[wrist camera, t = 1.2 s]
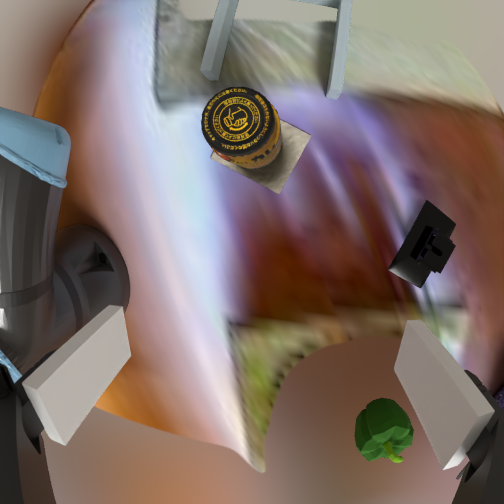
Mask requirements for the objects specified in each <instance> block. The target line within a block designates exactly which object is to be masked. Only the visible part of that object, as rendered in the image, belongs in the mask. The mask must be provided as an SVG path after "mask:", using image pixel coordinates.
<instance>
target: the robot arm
mask: <svg viewBox="0 0 504 504" xmlns="http://www.w3.org/2000/svg"><path fill="white" fill-rule="evenodd" d="M70 150H71V140H70V136H69V134H68V132H67V131H66V130H65V129H64V128H63V127H61V126H59V125H57V124H54V123H51V122H48V121H45V120H42V119H39V118H36V117H32V116H29V115H26V114H22V113H19V112H16V111H12V110H9V109H5V108H2V107H0V504H56V501H55V498H54V494H53V489H52V485H51V481H50V476H49V471H48V466H47V461H46V455H45V448H44V442H43V438H42V436H41V434H40V433H41V432H42V431H43V429H45V430H46V432H47V434H48V436H49V437H50V439H52V440H54V441H56V442H58V443H60V444H63V445H66V444H67V443H68V441H69V440H70V438H71V437H72V435H73V434H74V433H75V431H76V430H77V428H78V427H79V425H80V424H81V423H82V421H83V420H84V419H85V417H86V416H87V414H88V413H89V411H90V410H91V409H92V407H93V406H94V405H95V403H96V402H97V401H98V399H99V398H100V397H101V395H102V394H103V392H104V391H105V390H106V388H107V387H108V386H109V384H110V383H111V382H112V380H113V379H114V378H115V376H116V375H117V374H118V372H119V371H120V369H121V368H122V367H123V365H124V364H125V363H126V362H127V360H128V359H129V358H130V356H131V352H130V347H129V341H128V336H127V330H126V324H125V318H124V313H125V311H126V309H127V306H128V303H129V298H130V282H129V276H128V272H127V268H126V265H125V263H124V261H123V258H122V256H121V254H120V253H119V251H118V249H117V248H116V247H115V245H114V244H113V243H112V241H111V240H110V239H109V238H108V237H107V236H106V235H104V234H103V233H102V232H100V231H99V230H97V229H95V228H93V227H91V226H88V225H81V224H78V225H72V226H69V227H65V228H62V229H60V230H58V231H57V227H58V219H59V212H60V206H61V200H62V194H63V189H64V188H65V187H66V185H67V181H66V173H67V166H68V161H69V155H70ZM394 371H395V373H396V375H397V376H398V379H399V381H400V382H401V384H402V386H403V388H404V390H405V392H406V394H407V396H408V398H409V400H410V402H411V404H412V406H413V408H414V410H415V412H416V414H417V416H418V418H419V420H420V422H421V424H422V426H423V428H424V431H425V433H426V435H427V437H428V439H429V441H430V443H431V446H432V448H433V450H434V452H435V455H436V457H437V459H438V461H439V464H440V466H441V468H442V470H445V469H448V468H451V467H454V466H457V465H459V464H460V463H461V461H462V460H463V459H464V457H465V456H466V455H467V456H468V458H469V460H470V461H469V462H468V464H467V465H466V466H465V467H464V469H463V470H462V471H461V472H460V473H459V475H458V476H457V478H456V479H459V478H460V477H461V475H463V476H462V479H461V481H460V484H459V487H458V489H457V492H456V494H455V497H454V499H453V502H452V504H504V411H503V409H502V408H501V407H500V405H499V404H498V403H497V401H496V400H495V399H494V398H493V396H492V395H491V394H490V392H489V391H488V392H487V389H486V387H485V386H484V385H482V382H481V381H480V380H479V379H478V378H477V376H476V375H474V374H473V373H471V372H470V371H468V370H463V369H462V368H461V366H460V365H459V364H458V363H457V362H456V360H455V359H454V358H453V357H452V356H451V354H450V353H449V352H448V351H447V350H446V348H445V347H444V346H443V345H442V344H441V342H440V341H439V340H438V339H437V338H436V337H435V336H434V334H433V333H432V332H431V331H430V330H429V329H428V328H427V326H426V325H425V324H424V323H423V322H422V321H421V320H407V323H406V327H405V331H404V335H403V338H402V342H401V346H400V349H399V353H398V356H397V359H396V363H395V366H394Z"/></svg>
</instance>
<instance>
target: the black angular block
mask: <svg viewBox="0 0 504 504" xmlns="http://www.w3.org/2000/svg"><path fill="white" fill-rule="evenodd" d="M455 226H456V224H455V223H454V222H453V221H452V220H451V219H450V218H449V217H447V216H446V215H445V214H444V213H443V212H441V211H440V210H439V209H438V208H437V207H435V206H434V205H433V204H432V203H430V202H429V201H428V200H426V202H425V204H424V206H423V208H422V210H421V211H420V213H419V215H418V217H417V219H416V221H415V223H414V225H413V226H412V228H411V230H410V232H409V234H408V236H407V237H406V239H405V241H404V243H403V244H402V246H401V248H400V250H399V251H398V253H397V255H396V256H395V258H394V260H393V261H392V263H391V265H390V266H389V268H388V270H389V271H391V272H393V273H395V274H396V275H398V276H400V277H402V278H403V279H405V280H407V281H408V282H410V283H412V284H414V285H415V286H417V287H419V288H421V287H422V286H423V284H424V283H425V281H426V279H427V278H428V276H429V274H430V272H431V271H433V272H434V273H436V271H437V272H438V273H441V272H442V270H443V268H444V266H445V265H446V263H447V261H448V259H449V257H450V256H451V254H452V252H453V250H454V248H455V246H456V245H454V244H453V243H452V242H453V241H451V240H450V239H449V238H450V236H451V234H452V232H453V230H454V228H455Z"/></svg>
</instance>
